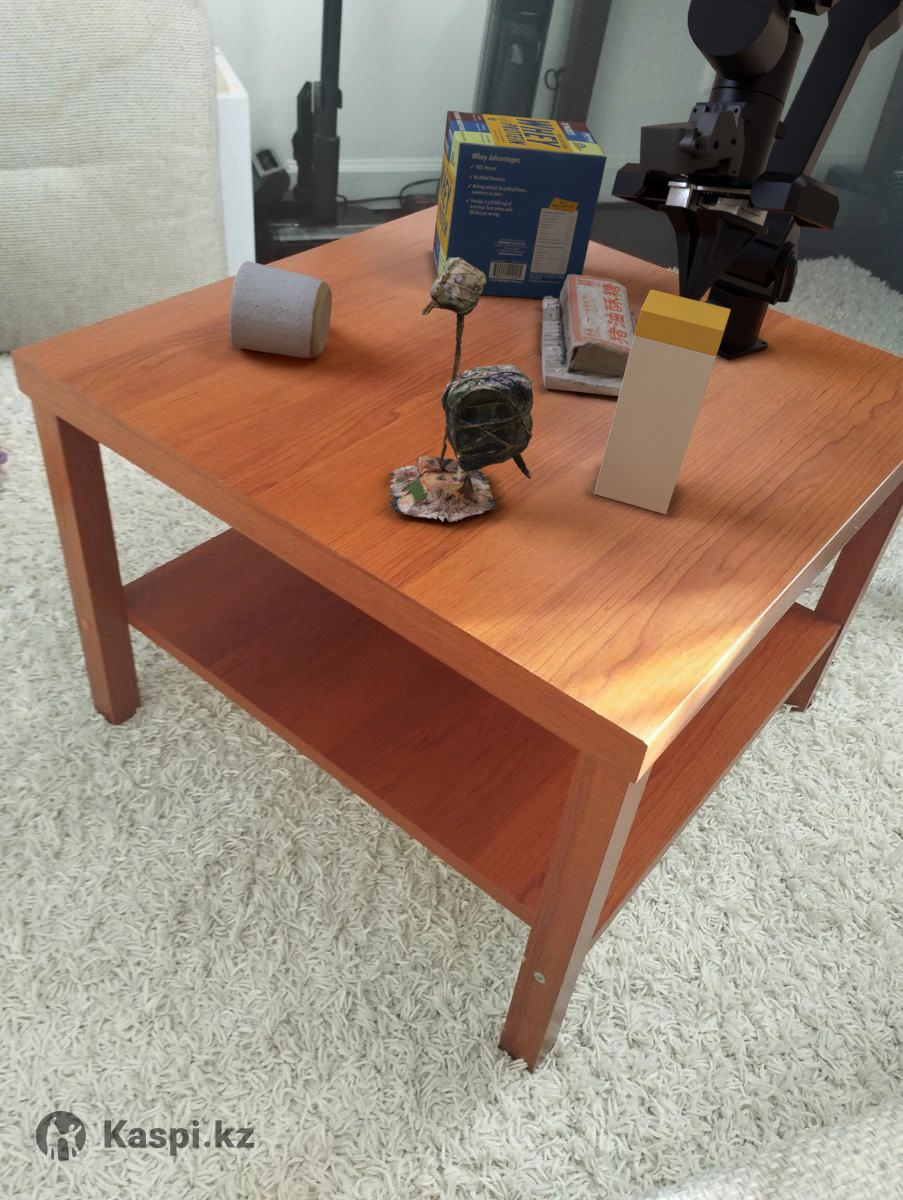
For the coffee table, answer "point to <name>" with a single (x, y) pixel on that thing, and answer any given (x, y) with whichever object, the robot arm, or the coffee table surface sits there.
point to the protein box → (517, 200)
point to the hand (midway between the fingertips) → (687, 304)
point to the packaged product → (587, 336)
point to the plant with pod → (467, 419)
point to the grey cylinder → (279, 311)
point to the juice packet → (660, 399)
